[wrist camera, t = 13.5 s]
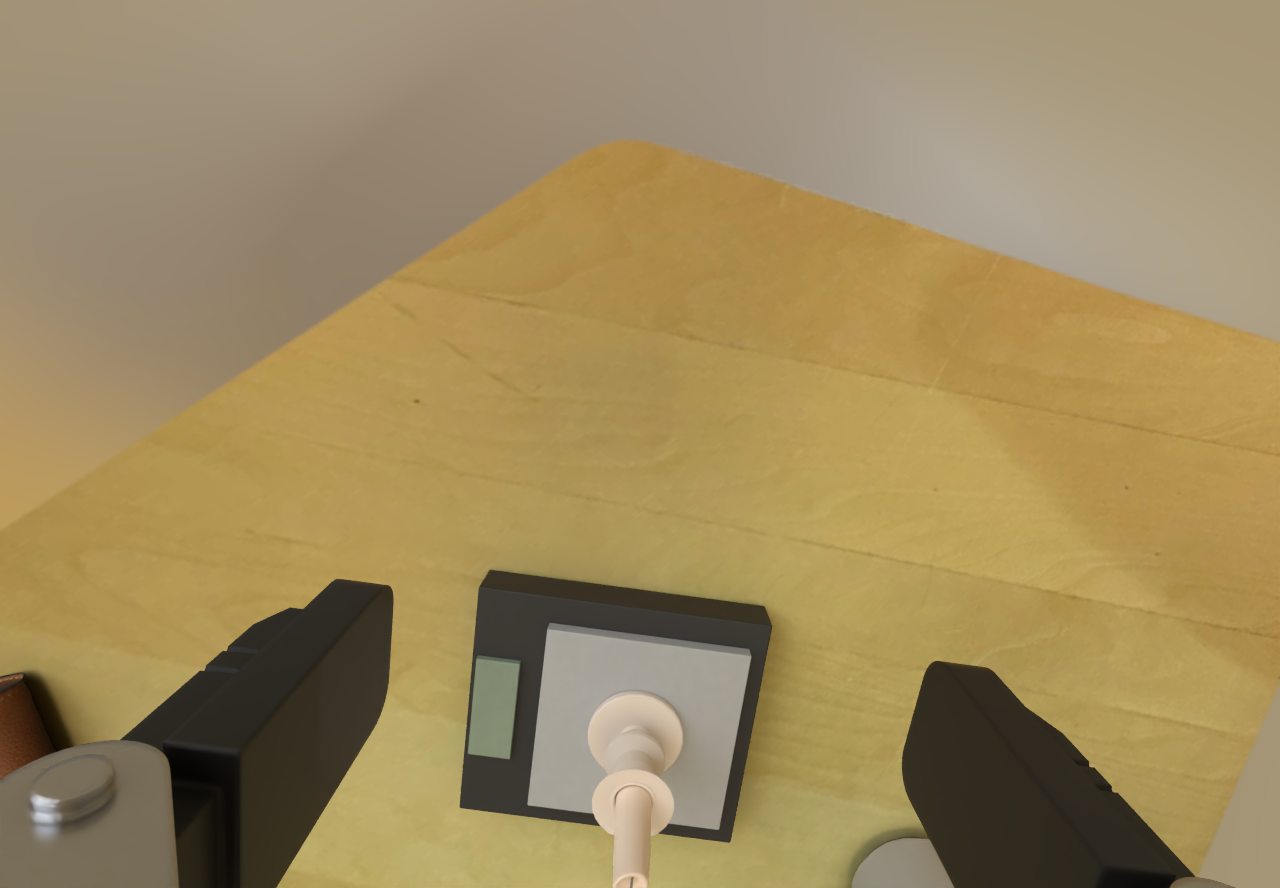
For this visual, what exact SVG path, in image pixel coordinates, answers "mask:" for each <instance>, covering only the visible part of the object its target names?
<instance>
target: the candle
mask: <svg viewBox="0 0 1280 888" xmlns="http://www.w3.org/2000/svg"><path fill="white" fill-rule="evenodd" d="M588 744H589V747H590V750H591V753H592V755H593V756H594V758H595V759H596V761H597V762H598V763H599V764H600V765H601V766H602V767H603V768H604V769H605V770H606V773H607V774H608V775H607V776H606V777H605V778H604V779H603V780H602V781H600V782H599V784H598V786H597V787H596V789H595V790H594V794H593V798H592V811H593V813H594V816H595V819H596V820H597V822H598V823H599V825H600V826H601V827H602V828H603V829H604V830H606V831H607V832H608V833H609V834H612V835H614V852H613V887H612V888H647V887H648V882H649V866H650V848H651V837H652V836H654V835H656V834H658V833H659V832H660V831H662V830H663V829H664V828H665V827H666V826H667V824H668V823H669V821H670V820H671V818H672V815H673V811H674V798H673V795H672V792H671V789H670V788H669V787H668V785H667V784H666V782H665V781H664V780H662V779H661V778H660V777H661V775H662V774H663V772H664V771H665V770H667V769H668V768H669V767H670V766H671V765H672V764H673V763H674V762H675V761H676V759H677V757H678V756H679V754H680V752H681V749H682V745H683V726H682V723H681V720H680V717H679V715H678V714H677V712H676V711H675V709H674V708H673V706H671V705H670V704H669V703H668V702H667V701H666V700H665V699H663V698H661V697H659V696H657V695H655V694H653V693H649V692H644V691H626V692H622V693H618V694H615V695H613V696H611V697H609V698H608V699H606V700H605V701H603V702H602V703H601V704H600V705H599V706H598V707H597V708H596V710H595V712H594V713H593V715H592V717H591V720H590V724H589V727H588Z"/></svg>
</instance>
